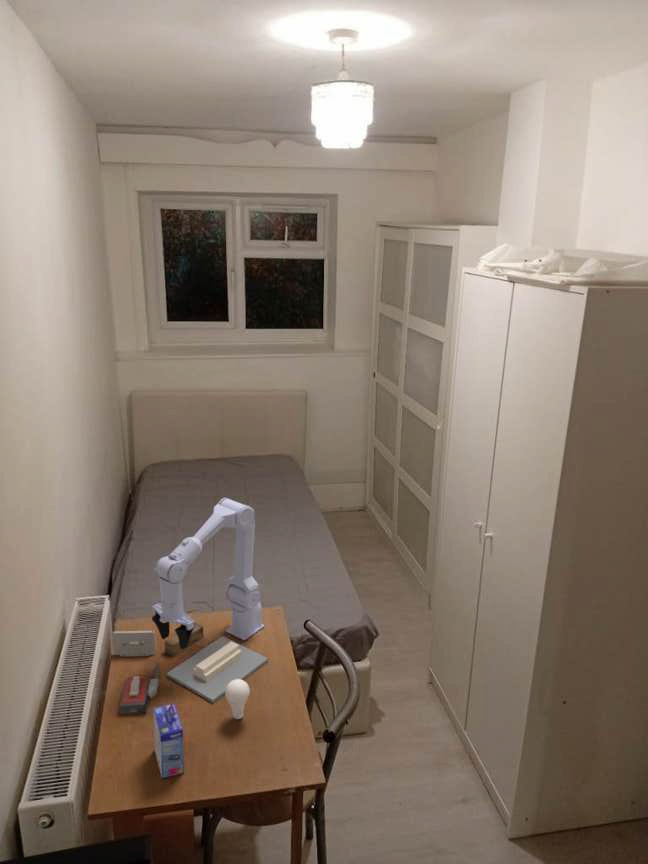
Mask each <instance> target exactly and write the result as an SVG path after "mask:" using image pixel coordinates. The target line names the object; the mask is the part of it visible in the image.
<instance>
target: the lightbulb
mask: <svg viewBox="0 0 648 864" xmlns="http://www.w3.org/2000/svg"><path fill="white" fill-rule="evenodd" d="M250 692H251V691H250V686H249V684H248V683H247V682H246V681H245V680H241V679H235V680H233V681H231V682H230V683H229V684H228V685H227V687H226V690H225V695H224V696H225V698H226V701H227V702H228V703H229V704H230V707H231V711H232V717H233V718H234V719H235V720H240V719H242V718H243V717H244V710H245V704H246V702H247V701H248V699H249V696H250V694H251V693H250Z"/></svg>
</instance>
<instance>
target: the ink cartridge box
mask: <svg viewBox="0 0 648 864" xmlns="http://www.w3.org/2000/svg"><path fill="white" fill-rule="evenodd" d="M152 711H153V715H152V716H153V741H154V753H155V757H156V760H157V765H158V770H159V773H160V777H161V779H164V778H168V777H173V776H178V775H181V774H185V759H184V758H185V756H184V755H185V754H184V729H183V725H182V723H181V719H180V716H179V712H178V709H177V707H176V703H169V704H165V705H160V706H157V707H153V709H152Z"/></svg>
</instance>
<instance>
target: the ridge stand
mask: <svg viewBox="0 0 648 864" xmlns="http://www.w3.org/2000/svg"><path fill="white" fill-rule="evenodd" d="M268 662H269V658H268V657H266V656H264V655H262V654H260V653H258V652H256V651H254V650H253V649H250V648H249V647H247V646H244V645H242V644H240V643H238V642H236V641H234V640H232V639H230V638H228V637H226V636H224V635H222V636H221V637H219V638H218V639H216V640H215V641H213V642H212V643H210V644H208V645H207V646H205V647H204V648H203V649H201V650H200V651H198V652H197V653H195V654H194V655H192V656H191V657H189V658H188V659H186V660H185V661H183V662H181V663H180V664H178V665H177V666H176V667H173V669H171V670H170V671H168V672H167V673H166V677H168V678H169V677H170V678H169V679H171V680H172V679H173V680H172V681H174V680H175V682H176V683H177V684H180V685H181V686H183V687H184V686H185V688H186V689H188V690H189V691H191V690H192V691H191V692H193V693H195V694H197V695H198V696H200V697H202V698H204V699H206V701H208V702H210V703H211V704H214V703H216V702H217V701H218V700H219V699H221V698H223V697H224V696H226V695H225V690H226V687H227V685H228V684H229V683H230V682H231V681H233V680H235V679H241V680H243V681H245V680H246V679H247V678H248V677H249V676H251V675H253V673H255V672H256V671H258V669H260V668H261V667H262V666H264V665H265V664H267V663H268Z"/></svg>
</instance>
